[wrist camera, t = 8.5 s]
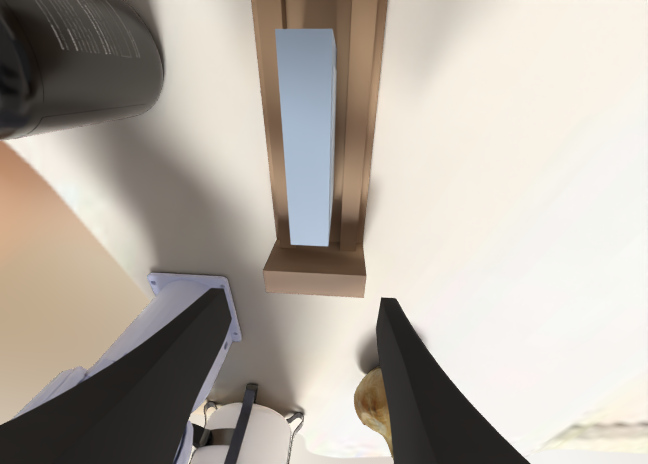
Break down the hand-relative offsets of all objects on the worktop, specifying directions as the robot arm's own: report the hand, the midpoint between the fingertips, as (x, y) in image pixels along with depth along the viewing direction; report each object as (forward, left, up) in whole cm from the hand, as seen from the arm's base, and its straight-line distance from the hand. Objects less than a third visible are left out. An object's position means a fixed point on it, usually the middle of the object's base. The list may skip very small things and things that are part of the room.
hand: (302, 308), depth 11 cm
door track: (+6, 0, -10) cm, 12 cm away
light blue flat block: (+6, 0, -9) cm, 11 cm away
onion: (-21, -8, -10) cm, 25 cm away
